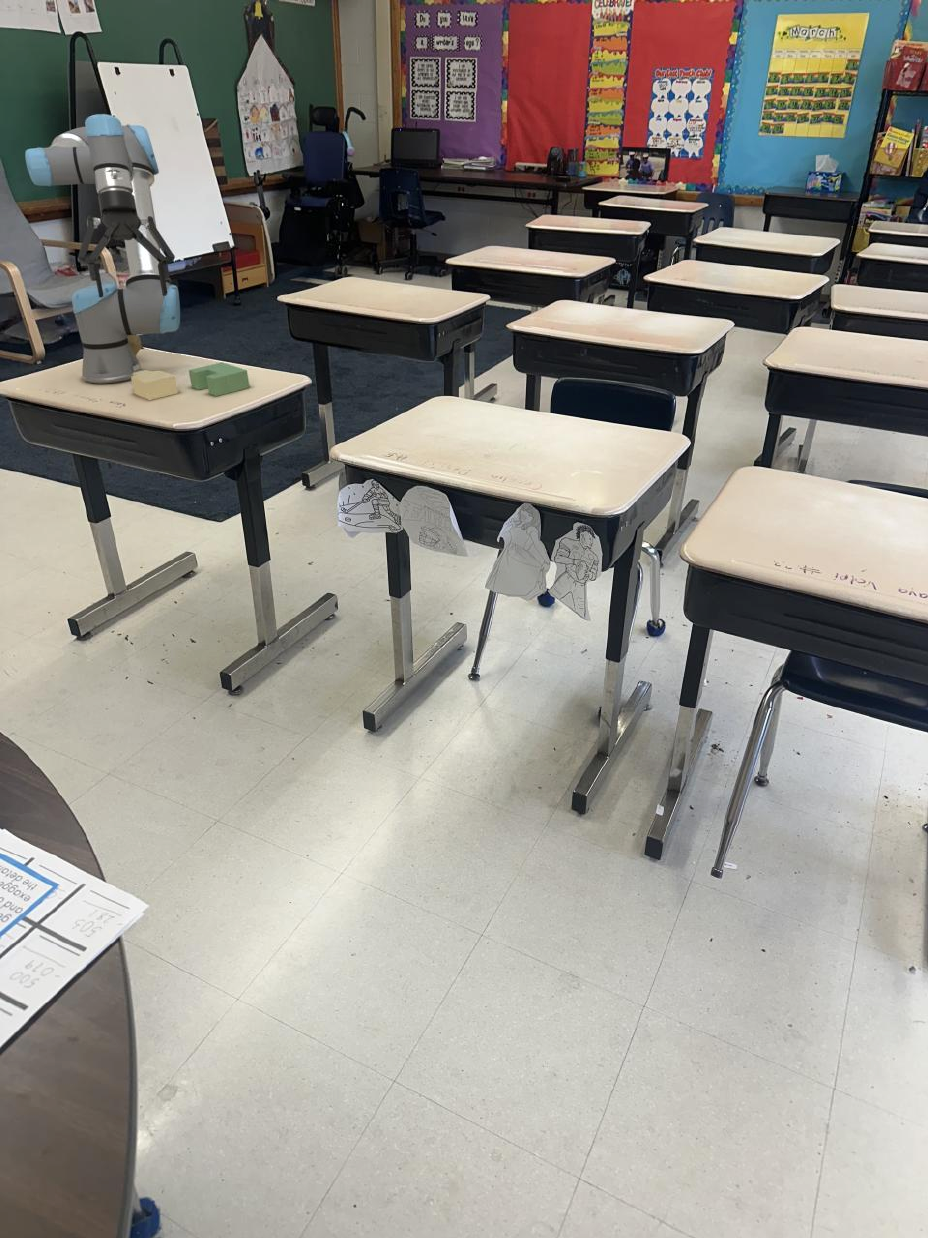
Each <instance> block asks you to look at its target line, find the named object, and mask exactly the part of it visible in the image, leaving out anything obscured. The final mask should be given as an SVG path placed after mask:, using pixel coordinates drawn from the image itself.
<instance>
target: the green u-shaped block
mask: <svg viewBox="0 0 928 1238" xmlns="http://www.w3.org/2000/svg"><path fill="white" fill-rule="evenodd" d="M188 374H189V375H188V376H189V379H190V380H189V381H190V385H191V388H193V389H195V390H203V389H206V388H207V390H208V394H209V395H211V396H214V397H219V396H222V395H227V394H230V393H235V392H237V391H241V390H245V389H249V388H250V380H249V376H248V375H249V374H248V370H247V369H244V368H242V367H238V366H235V365H232V364H228V363H226V362H222V361H221V362H218V363H217V362H216V363H213V364H209V365H204V366H200V367H196V368H192V369H188Z"/></svg>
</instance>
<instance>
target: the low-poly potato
mask: <svg viewBox="0 0 928 1238" xmlns="http://www.w3.org/2000/svg"><path fill="white" fill-rule="evenodd" d="M127 338H128V342H129V346H130V347H131V349H132V351H133V353H134V355H135V356H136V357H137V355H138V354H139V352H140V351H141V350H146V348H145V347H143V344H142V341H141V336H140V335H127Z"/></svg>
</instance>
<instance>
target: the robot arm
mask: <svg viewBox="0 0 928 1238" xmlns="http://www.w3.org/2000/svg"><path fill="white" fill-rule="evenodd" d="M84 125H85V126H81V127H77V128H74V129H71V130H67V131H65V132H62V133H60V134H59V135H57V136H56V137H54V139H53V141H52V143H51V145H50V146H48V147H39V146H38V147H36V148H28V149H26V150H25V153H24V154H25V155H24V156H25V163H26V167H27V171H28V174H29V177H30V180H31V182H32V183H33V184H34V185H36V186H45V187H46V186H47V187H52V186H66V185H67V186H68V185H69V186H71V185H94V184H95V189H96V193H97V194H98V195H97V199H98V204H99V211H100V218H99V217H93V215H91V214H89V215H87V217H86V218H87V219H86V231H85V234H84V237H83V240H82V243H81V245H80V249H79V252H78V256H77V262H78V263H80V264H85V265H86V266H87V268H88V269H87V270H88V273H89V279H90V281H91V282H95V283H96V284H94V285H90V286H87V287H84V288H83V287H82V288H81V289H79V290H76V291H75V292H73V294H72V295H71V303H72V309H73V311H72V312H73V314H74V316H75V321H76V325H77V329H78V333H79V336H80V340H81V345H82V349H83V351H82V352H81V356H82V357H83V358H82V371H81V372H82V373H81V374H82V377H83V381H85V382H87V383H90V384H97V385H99V384H100V385H103V384H104V385H105V384H107V385H108V384H116V383H117V384H118V383H123V382H128V381H132V380H131V377H132V376H133V373H134V372H139V371H143V370H142V369H143V368H142V366H141V363H140V362H139V360H138V357H137V355H136V356H135V355H134V353H133V351H132V349H131V347H130V346H129V342H128V338H127V335H137V336H140V335H150V334H151V335H152V334H165V333H172V332H176V331H177V330H178V329H179V328H180V325H181V305H180V304H181V303H180V294H179V293H180V292H179V289H178V286H177V285H174V284H172V280H171V278H170V271H169V265H168V264H171V263H173V262H174V260H175V259H176V256H175V254H174V253H173V251H172V249H171V248H170V246H169V245H168V244H167V242H166V241H165V239H164V237H163V236H162V234H161V233H160V231H159V230H158V228H157V223H156V222H157V221H156V217H155V211H154V210H155V209H154V203H153V199H152V191H151V187H152V186H153V184H154V183H155V176H157V175H158V174H159V173H160V170H159V166H158V162H157V158H156V156H155V152H154V149H153V146H152V145H153V144H152V141H151V139H150V135H149V132H148V130H147V128H145V126H143V125H137V124H136V125H135V124H134V125H132V124H129V123H128V124H127V123H126V125H122V122H121V121H120V119H119V118H117V117H116V116H114V115H111V114H105V113H102V114H101V113H100V114H99V113H98V114H93V115H91V116H88V117H87V118H86V119H85V121H84ZM99 225H100V226H101V227H102V228H103V230H104V231H105V232H104V234H103V236H102V237H101V239H100V240H99V242H98V243H97V244H96V246H95V247H94V249H93V250H92V252H91V253H90V255H89V256H87V253H88V249H89V246H90V243H91V241H92V237H93V234H94V230H96V229H98V226H99ZM111 239H113V240H115V241H122V240H124V245H125V251H126V252H125V253H126V256H127V263H128V270H129V276H128V277H127V278H126V280H125V287H126V288H120V289H119V288H118V286H117V285H116V284H115V283H114V282H109V283H108V282H107V283H102V280H101V274H100V268H99V263H98V262H96V261H97V259H98V258H99V257H100V256H101V254H102V252H103V251H104V249H105V248H106V246H107V245H108V243H110V241H111ZM107 465H108V468H109V469H110V470H111V469H112V464H111V463H110V462H107Z"/></svg>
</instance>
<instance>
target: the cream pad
mask: <svg viewBox="0 0 928 1238" xmlns="http://www.w3.org/2000/svg"><path fill="white" fill-rule="evenodd" d="M130 381H131V385H132V389H133V393H134V395H136V396H138V397H140V398H143V399H146V400H148V401H152V400H156V399H161V398H164V397H169V396H172V395H177V394H179V390H178V385H177V380H176V376H175V375H174V374H172V373H168V372H166V371H164V370H160V369H157V370H153V371H152V370H148V369H144V370H142V371H139V372H134V373H133V376H132V377H131V380H130Z"/></svg>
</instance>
